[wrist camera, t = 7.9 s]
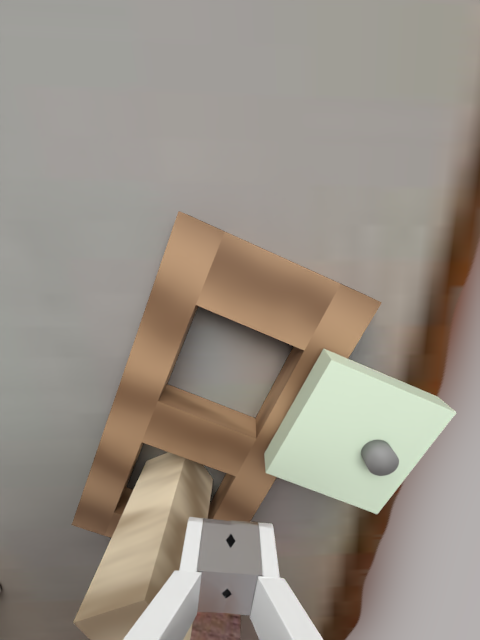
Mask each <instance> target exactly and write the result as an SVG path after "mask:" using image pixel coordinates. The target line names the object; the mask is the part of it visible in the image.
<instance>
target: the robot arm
mask: <svg viewBox="0 0 480 640" xmlns="http://www.w3.org/2000/svg"><path fill="white" fill-rule="evenodd" d="M202 525H203V526H202ZM0 592H1V588H0ZM197 612H212V613H230V614H240V615H249V616H250V619H251V621H252V623H253V626H254V628H255V631H256V633H257V635H258V638H259V640H323V638H322V637H321V635H320V634H319V632H318V631H317V629H316V627H315V626H314V624H313V623H312V621H311V620H310V618H309V616H308V615H307V613H306V612H305V610H304V608H303V607H302V605H301V604H300V602H299V601H298V599H297V597H296V596H295V594H294V593H293V591H292V590H291V588H290V586H289V585H288V583H287V582H286V580H285V579H284V578H280V575H279V567H278V559H277V551H276V543H275V536H274V528H273V525H272V524H271V523H258V522H249V521H233V520H231V521H226V520H217V519H207V518H204V519H203V518H197V517H189V519H188V523H187V529H186V534H185V540H184V546H183V552H182V557H181V563H180V569H179V570H175V571H174V572H173V573H172V575H171V576H170V577H169V579H168V580H167V581H166V583H165V584H164V585H163V587H162V588H161V589H160V591H159V592H158V593H157V595H156V596H155V597H154V599H153V600H152V601H151V603H150V604H149V605H148V607H147V608H146V609H145V611H144V612H143V613H142V615H141V616H140V617H139V619H138V620H137V621H136V623H135V624H134V626H133V627H132V628H131V630H130V631H129V632H128V634H127V635H126V636H125V638H124V639H123V640H183V639H184V637H185V636H186V634H187V632H188V630H189V628H190V626H191V624H192V623H193V621H194V619H195V617H196V615H197Z"/></svg>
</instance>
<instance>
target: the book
mask: <svg viewBox="0 0 480 640" xmlns="http://www.w3.org/2000/svg"><path fill="white" fill-rule="evenodd" d="M240 628H241V615H240V614H230V613H212V612H197V615H196V617H195V619H194V621H193V624H192V631H191V638H190V640H240Z"/></svg>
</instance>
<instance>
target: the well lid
mask: <svg viewBox="0 0 480 640" xmlns="http://www.w3.org/2000/svg"><path fill="white" fill-rule="evenodd" d="M455 414H456V412H455V411H454V410H453V409H452V408H450V407H449V406H448V405H447V404H446V403H445V402H443V401H442V400H441V399H440V398H439V397H437V396H435V395H432V394H430V393H427V392H425V391H423V390H420V389H418V388H416V387H413V386H411V385H409V384H406V383H404V382H402V381H399V380H397V379H394V378H392V377H390V376H387V375H385V374H383V373H380V372H378V371H376V370H373V369H371V368H369V367H366V366H364V365H361V364H359V363H357V362H354V361H352V360H350V359H347V358H345V357H343V356H340V355H338V354H336V353H333V352H331V351H328V350H326V349H323V350H322V352H321V354H320V356H319V358H318V359H317V361H316V363H315V365H314V366H313V368H312V370H311V372H310V373H309V375H308V377H307V379H306V381H305V382H304V384H303V386H302V388H301V389H300V391H299V393H298V395H297V396H296V398H295V400H294V402H293V404H292V405H291V407H290V409H289V411H288V412H287V414H286V416H285V418H284V419H283V421H282V423H281V425H280V427H279V428H278V430H277V432H276V434H275V435H274V437H273V439H272V441H271V442H270V444H269V446H268V448H267V450H266V451H265V453H264V458H265V471H266V473H267V474H270V475H273V476H275V477H278V478H281V479H284V480H286V481H289V482H292V483H294V484H297V485H300V486H302V487H305V488H308V489H311V490H313V491H316V492H319V493H321V494H324V495H327V496H329V497H332V498H335V499H337V500H340V501H343V502H346V503H348V504H351V505H354V506H356V507H359V508H362V509H364V510H367V511H370V512H373V513H375V514H378V513H379V511H380V510H381V509H382V508H383V506H384V505H385V504H386V502H387V501H388V500H389V499H390V497H391V496H392V495H393V494H394V492H395V491H396V490H397V488H398V487H399V486H400V485H401V483H402V482H403V481H404V479H405V478H406V477H407V476H408V474H409V473H410V472H411V470H412V469H413V468H414V467H415V465H416V464H417V463H418V461H419V460H420V459H421V458H422V456H423V455H424V454H425V452H426V451H427V450H428V449H429V447H430V446H431V445H432V443H433V442H434V441H435V440H436V438H437V437H438V436H439V434H440V433H441V432H442V431H443V429H444V428H445V427H446V425H447V424H448V423H449V422H450V420H451V419H452V417H454V415H455Z"/></svg>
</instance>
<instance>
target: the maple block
mask: <svg viewBox="0 0 480 640" xmlns="http://www.w3.org/2000/svg"><path fill="white" fill-rule="evenodd" d="M212 484H213V479H212V477H211V476H210V474H209V473H208V471H207V470H206V468H205V467H204V465H203V464H200V463H197V462H194V461H192V460H189V459H186V458H184V457H181V456H178V455H175V454H173V453H170V452H167V453H165V454H162V455H160V456H157V457H155V458H152V459H150V460H148V461H146V463H145V465H144V468H143V470H142V472H141V474H140V476H139V479H138V481H137V483H136V485H135V487H134V490H133V492H132V494H131V496H130V498H129V501H128V503H127V505H126V507H125V509H124V512H123V514H122V516H121V518H120V520H119V523H118V525H117V527H116V529H115V531H114V534H113V536H112V538H111V540H110V542H109V545H108V547H107V549H106V551H105V554H104V556H103V558H102V560H101V562H100V565H99V567H98V569H97V571H96V573H95V576H94V578H93V580H92V582H91V584H90V587H89V589H88V591H87V593H86V595H85V598H84V600H83V602H82V604H81V606H80V609H79V611H78V613H77V615H76V617H75V620H74V622H73V623H74V624H75V625H76V626H77V627H78V628H79V629H80V630H81V631H82V632H83V633H84V634H85V635H86V636H87V637H88V638H89V639H90V640H123V639H124V638H125V636H126V635H127V634H128V632H129V631H130V630H131V628H132V627H133V626H134V624H135V623H136V621H137V620H138V619H139V617H140V616H141V615H142V613H143V612H144V611H145V609H146V608H147V607H148V605H149V604H150V603H151V601H152V600H153V599H154V597H155V596H156V595H157V593H158V592H159V591H160V589H161V588H162V587H163V585H164V584H165V583H166V581H167V580H168V579H169V577H170V576H171V575H172V573H173V572H174V571H175V570H179V569H180V563H181V557H182V552H183V546H184V540H185V534H186V529H187V523H188V519H189V517H197V518H203V519H204V518H207V519H208V512H209V505H210V498H211V491H212ZM202 526H203V525H202ZM192 624H193V623H192ZM192 624H191V626H190V628H189V630H188V632H187V634H186V636H185V637H184V639H183V640H190V638H191V631H192Z"/></svg>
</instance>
